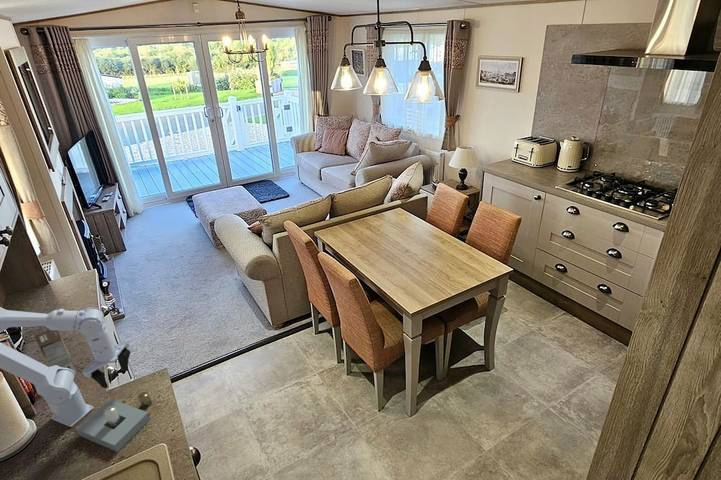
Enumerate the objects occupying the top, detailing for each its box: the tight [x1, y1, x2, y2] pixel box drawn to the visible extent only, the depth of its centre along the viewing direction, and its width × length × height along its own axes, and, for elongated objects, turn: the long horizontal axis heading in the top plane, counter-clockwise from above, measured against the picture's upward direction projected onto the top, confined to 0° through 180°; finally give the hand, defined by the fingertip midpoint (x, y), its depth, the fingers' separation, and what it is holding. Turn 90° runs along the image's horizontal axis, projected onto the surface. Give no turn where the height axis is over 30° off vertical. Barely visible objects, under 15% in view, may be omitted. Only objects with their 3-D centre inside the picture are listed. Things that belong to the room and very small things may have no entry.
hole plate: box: [75, 398, 152, 453], centre depth 124 cm, size 16×12×3 cm
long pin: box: [104, 406, 122, 429], centre depth 123 cm, size 3×3×8 cm
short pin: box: [137, 391, 152, 409], centre depth 132 cm, size 3×3×4 cm
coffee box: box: [34, 329, 78, 375], centre depth 144 cm, size 9×6×16 cm
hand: (115, 378), depth 131 cm, fingers open, 7 cm apart
